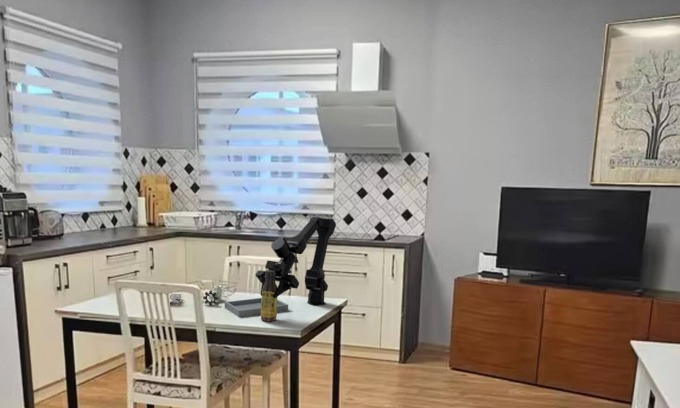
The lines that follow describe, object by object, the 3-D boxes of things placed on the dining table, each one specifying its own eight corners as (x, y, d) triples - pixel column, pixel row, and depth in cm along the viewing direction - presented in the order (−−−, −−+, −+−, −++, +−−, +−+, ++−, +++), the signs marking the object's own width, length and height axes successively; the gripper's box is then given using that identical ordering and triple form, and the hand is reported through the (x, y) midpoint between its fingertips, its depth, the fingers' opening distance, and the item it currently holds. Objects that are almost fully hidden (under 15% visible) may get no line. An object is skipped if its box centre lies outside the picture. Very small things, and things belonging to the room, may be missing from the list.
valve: (212, 299, 232) (202, 305, 220) (212, 284, 232) (203, 290, 220) (226, 299, 231) (217, 306, 219) (226, 285, 231) (217, 291, 219)
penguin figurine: (163, 284, 219) (172, 281, 231) (162, 304, 219) (171, 300, 231) (177, 285, 219) (186, 282, 231) (176, 304, 219) (185, 300, 231)
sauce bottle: (258, 321, 196) (258, 271, 196) (263, 317, 202) (264, 268, 202) (274, 322, 195) (275, 271, 194) (279, 318, 201) (279, 269, 201)
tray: (271, 302, 228) (271, 296, 228) (288, 310, 214) (288, 304, 214) (224, 307, 216) (224, 301, 216) (238, 317, 202) (238, 310, 202)
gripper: (258, 250, 206) (239, 281, 197) (295, 254, 196) (277, 287, 187) (270, 267, 213) (252, 297, 204) (306, 272, 203) (289, 304, 194)
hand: (267, 296), depth 197 cm, fingers closed on sauce bottle, 6 cm apart
